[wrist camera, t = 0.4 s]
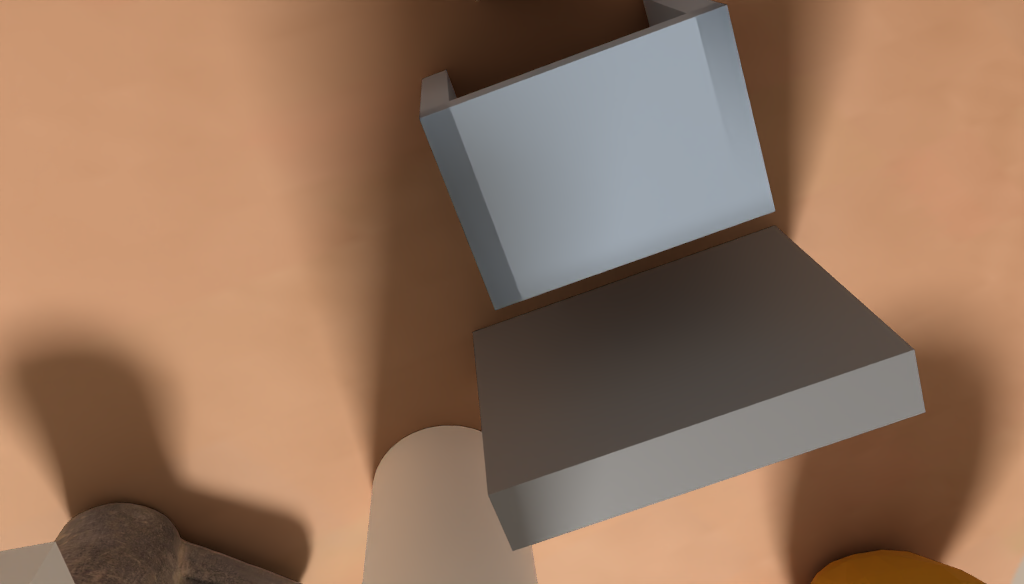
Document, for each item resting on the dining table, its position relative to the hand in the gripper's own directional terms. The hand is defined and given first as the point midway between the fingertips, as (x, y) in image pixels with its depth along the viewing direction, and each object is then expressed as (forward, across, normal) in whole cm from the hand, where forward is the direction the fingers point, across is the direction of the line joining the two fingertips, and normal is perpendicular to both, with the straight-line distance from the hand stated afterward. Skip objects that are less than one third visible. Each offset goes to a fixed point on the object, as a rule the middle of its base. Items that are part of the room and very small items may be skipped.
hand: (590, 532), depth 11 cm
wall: (+26, +5, -9) cm, 28 cm away
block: (+26, +4, -1) cm, 26 cm away
